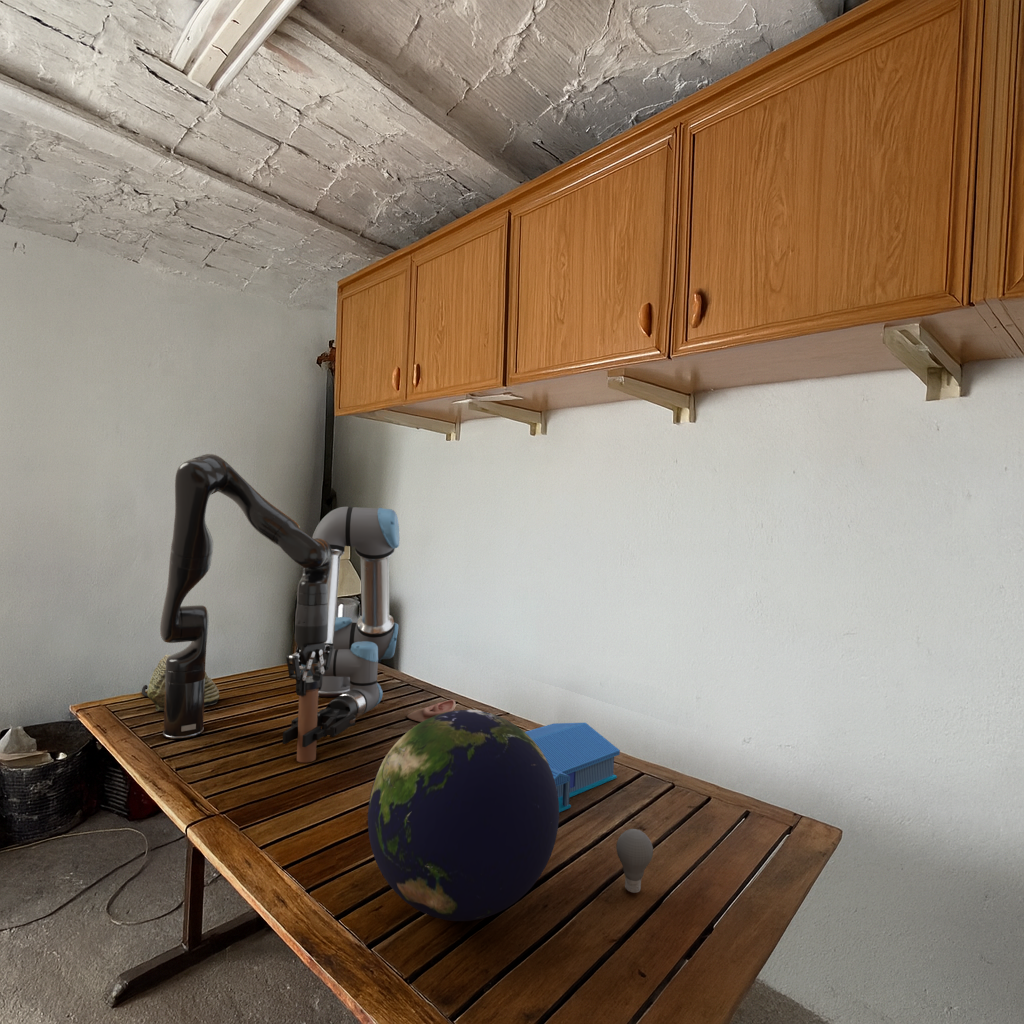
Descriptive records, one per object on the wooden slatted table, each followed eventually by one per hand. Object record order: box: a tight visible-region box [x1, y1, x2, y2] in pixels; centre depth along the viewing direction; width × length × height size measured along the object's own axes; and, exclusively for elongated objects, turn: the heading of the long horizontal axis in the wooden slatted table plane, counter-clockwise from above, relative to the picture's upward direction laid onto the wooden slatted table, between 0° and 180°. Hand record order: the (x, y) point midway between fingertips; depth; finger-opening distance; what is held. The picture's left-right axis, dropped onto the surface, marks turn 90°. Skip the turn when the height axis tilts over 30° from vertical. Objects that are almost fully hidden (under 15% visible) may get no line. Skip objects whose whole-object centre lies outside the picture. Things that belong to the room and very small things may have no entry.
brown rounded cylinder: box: [296, 688, 319, 764], centre depth 152 cm, size 4×4×18 cm
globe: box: [367, 709, 560, 922], centre depth 100 cm, size 30×30×30 cm
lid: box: [306, 676, 320, 690], centre depth 152 cm, size 5×5×2 cm
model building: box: [524, 722, 621, 813], centre depth 143 cm, size 39×24×10 cm, turn 132°
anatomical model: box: [406, 699, 457, 723], centre depth 185 cm, size 13×4×12 cm
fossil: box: [147, 654, 221, 712], centre depth 185 cm, size 9×18×15 cm, turn 132°
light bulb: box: [615, 828, 654, 894], centre depth 106 cm, size 6×6×10 cm
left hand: (309, 692), depth 152 cm, fingers closed on lid, 5 cm apart
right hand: (294, 739), depth 147 cm, fingers closed on brown rounded cylinder, 4 cm apart
